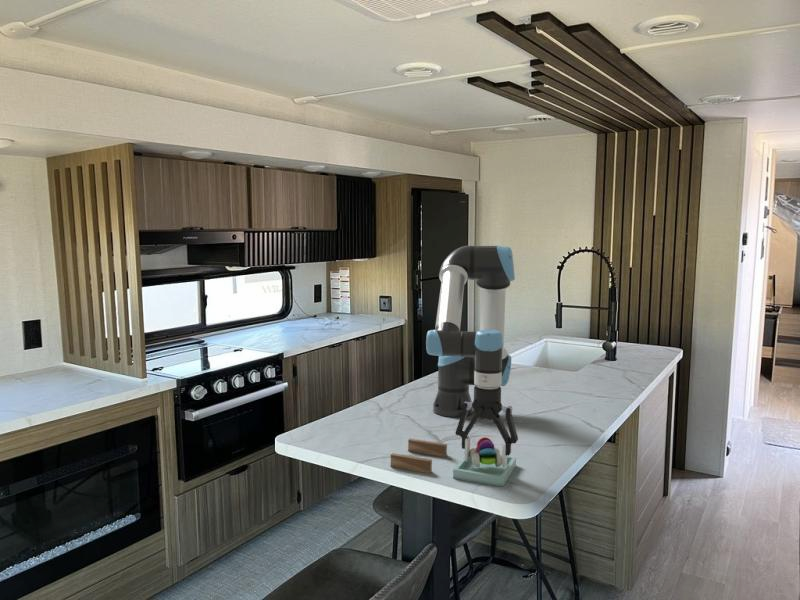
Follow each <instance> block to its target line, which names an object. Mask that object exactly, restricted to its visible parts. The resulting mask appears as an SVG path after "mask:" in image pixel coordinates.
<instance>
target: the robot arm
mask: <svg viewBox="0 0 800 600" xmlns="http://www.w3.org/2000/svg"><path fill="white" fill-rule="evenodd" d="M513 256H514V254H513V250H512V248H511V247H510V246H501V245H464V246H461V247H459V248H456V249H454V250H453V251H452V252H451V253H450V254H448V256H446V258H445V259H444V260H443V262H442V264H441V266H440V269H439V274H438V277H439V280H440V282H441V283H440V289H439V290H440V291H439V297H438V305H437V312H436V319H435V329H430V330H428V331H427V333H426V338H425V339H426V340H425V346H426V347H425V348H426V353H427V354H428V355H430V356H437V357H438V362H437V368H438V369H437V371H438V373H437V393H436V395H435V398H434V400H433V404H432V411H433V413H435V414H437V415H439V416H443V417H451V418H459V419H458V420H459V421H458V423H457V426H456V430H455V432H454V433H455V435H456V436H459V437H460V438H461V449H462V450H464V456H465V461H468V460H469V459H470V450H471V436H470V435H469V434H470V432H471V430H473V428H474V426H475V425H476V424H477V422H478V421H479V419H481V420H485V419H486V420H489V421H491V420H492V422H493V424H495V426H496V428H497V430H498V432H499V433H500V435H501V438H502V439H503V441H504V442H503V444H502V454H501V455H502V467H504V468H505V466H506V465H507V456H511V453H512V445H513V444H516V443H517V442H518V441H519V437H518V433H517V429H516V426H515V422H514V417H513V406H511V405H509V406H504V405H503V404H502V387H505V386H507V384H508V382H509V379H510V375H511V366H512V356H511V355H509V354H508V350H507V349H506V348H505V346H504V345H505V344H504V343H505V341H504V340H505V317H506V316H505V315H506V314H505V312H506V291H507V289H509V287H510V286H511V282H513V281H514V280H515V266H514V265H515V264H514V257H513ZM468 280H471V281H473V280H474V281H475V282H476V286H477V287H478V288H479V289H480V303H479V304H480V306H479V309H480V313H479V316H480V320H479V330H477V331H466V330H461V322H462V312H463V304H464V303H463V302H464V301H463V300H464V290H465V285H466V283H467V281H468ZM470 386H474V387H473V401H472V398H471V394H470ZM501 411H502V412H503V415H504V416H505V421H506V424H507V428H508V429H507V428H506V426H505V425H504V422H503V421H502V417H501V416H500V414H499V413H500V412H501ZM474 412H475V414H474V415H473V417H472V419H471V420H470V421H469V423H468V425H467V427H466V428H465V429H464V426H465V424H466V420H467V417H468V416H470V415H472V414H473V413H474ZM508 431H509V432H508ZM468 435H469V436H468Z"/></svg>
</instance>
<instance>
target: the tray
mask: <svg viewBox="0 0 800 600" xmlns="http://www.w3.org/2000/svg"><path fill="white" fill-rule="evenodd" d="M516 466H517V457H516V456H511V455H509V456H508V455H507V465H506V466H505V468H504V467H502V465H501V466H499V467H496V465H495V463H494V464H489V465H488V464H482V463H481V462H480V467H475V466H474V465H473V464H472V460H471V458H470V459H469V460H468V461H465V455H464V456H463V457H462V459H461V460H460V461H459V462H458V463H457V464H456V466H455V467H454V468H453V469H452V470H453V471H452V478H453V479H455V480H462V481H468V482H473V483H479V484H484V485H490V486H496V487H501V488H503V487H504V486H505V484H506V483H507V481H508V480H509V478H510V476H511V475H512V473H513V471H514V469H515V468H516Z"/></svg>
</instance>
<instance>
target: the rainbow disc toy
mask: <svg viewBox="0 0 800 600" xmlns="http://www.w3.org/2000/svg"><path fill="white" fill-rule="evenodd" d="M470 458H471V460H472V464H473V465H474V466H475V467H480V462H481V463H482V464H488V465H489V464H494V463H495V465H496V467H499V466H501V465H502V454H501V453H500V449H498V448H497V447H495V444H494V443H493V441H492V439H490V438H489V437H481V438H479V440H478V441H477V443H476V446H474V447H472V448H470Z"/></svg>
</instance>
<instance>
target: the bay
mask: <svg viewBox="0 0 800 600" xmlns="http://www.w3.org/2000/svg"><path fill="white" fill-rule="evenodd" d="M407 441H408V442H407V443H408V445H407V446H408V447H407V451H408V452H413V453H418V454H419V453H420V454H423V455H424V454H425V455H431V456H438V457H444V458H446V457H447V456H448V455H447V454H448V452H447V451H448V444H447V443H441V442H436V441H431V440H430V441H429V440H421V439H417V438H416V439H415V438H408V440H407ZM432 465H433V459H430V458H425V457H418V456H412V455H408V454H406V455H405V454H400V453H394V452H392V453H391V454H390V467H391V468H392V467H393V468H397V469H404V470H409V471H415V472H421V473H424V474H425V473H426V474H431V473H432V472H433V471H432V467H433V466H432Z"/></svg>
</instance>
